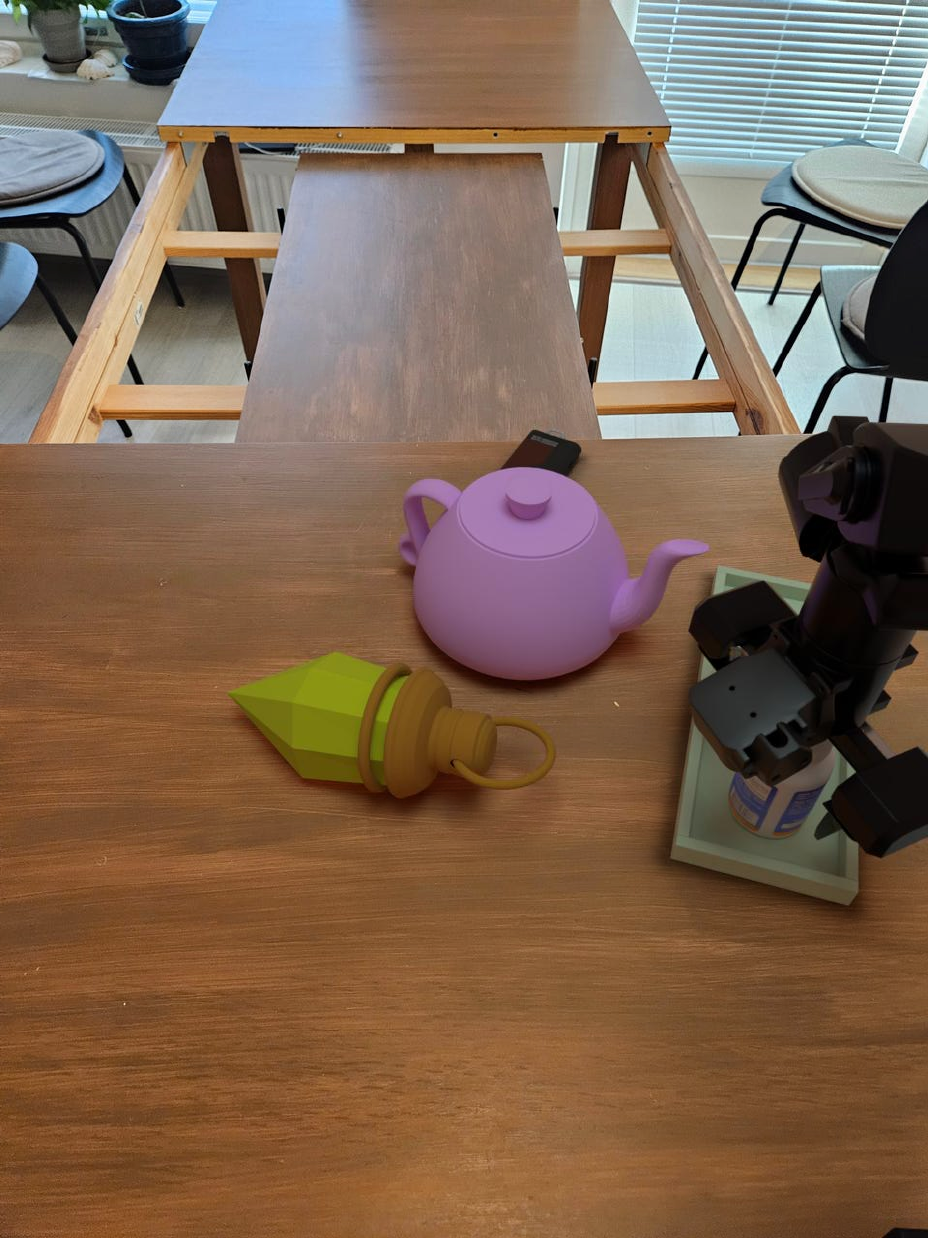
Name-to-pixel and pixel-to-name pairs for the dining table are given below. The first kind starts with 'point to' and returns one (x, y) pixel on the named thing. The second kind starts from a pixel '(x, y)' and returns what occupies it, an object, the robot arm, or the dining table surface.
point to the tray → (728, 845)
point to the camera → (545, 452)
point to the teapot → (526, 573)
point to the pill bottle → (781, 796)
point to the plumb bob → (377, 726)
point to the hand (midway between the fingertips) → (777, 779)
